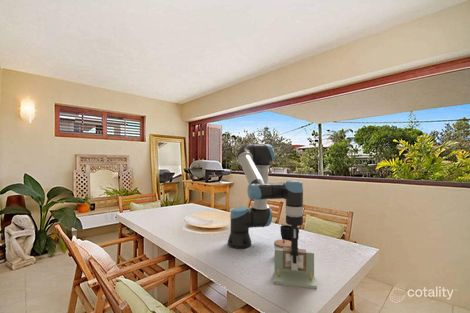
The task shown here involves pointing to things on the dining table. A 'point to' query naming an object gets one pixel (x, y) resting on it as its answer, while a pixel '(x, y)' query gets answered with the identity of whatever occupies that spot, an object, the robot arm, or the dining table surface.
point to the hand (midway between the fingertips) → (294, 267)
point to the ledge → (294, 272)
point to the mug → (285, 232)
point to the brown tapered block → (300, 259)
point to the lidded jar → (282, 244)
